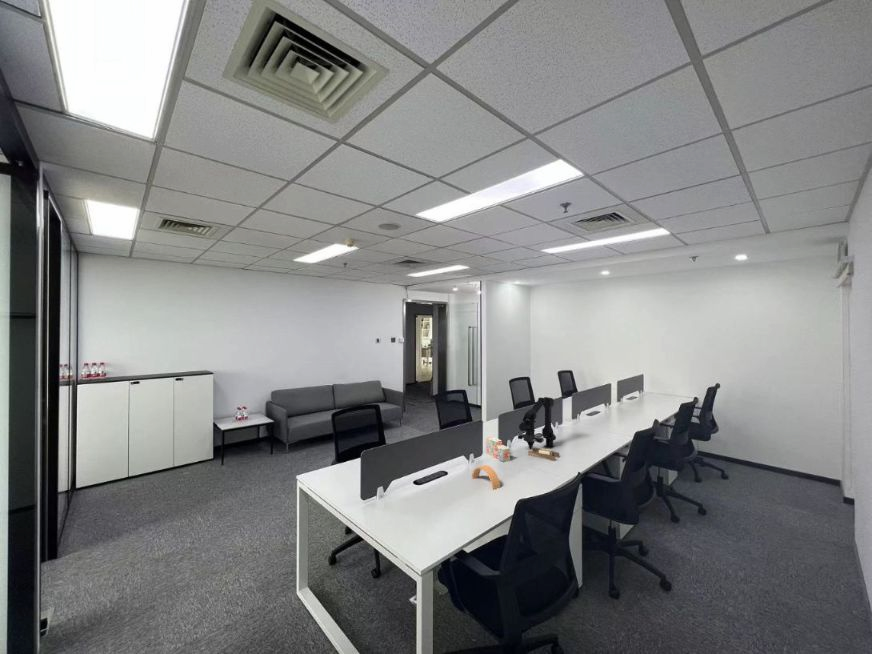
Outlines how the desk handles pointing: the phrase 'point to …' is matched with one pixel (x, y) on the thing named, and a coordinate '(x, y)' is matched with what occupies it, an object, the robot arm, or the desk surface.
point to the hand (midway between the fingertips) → (530, 449)
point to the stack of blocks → (497, 449)
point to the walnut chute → (544, 456)
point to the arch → (490, 473)
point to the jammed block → (545, 451)
